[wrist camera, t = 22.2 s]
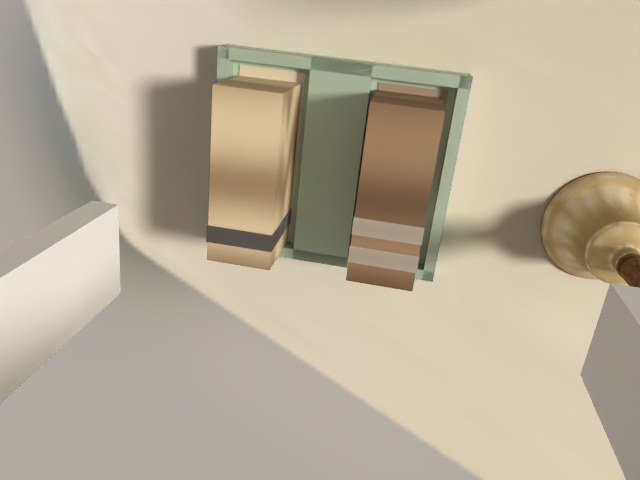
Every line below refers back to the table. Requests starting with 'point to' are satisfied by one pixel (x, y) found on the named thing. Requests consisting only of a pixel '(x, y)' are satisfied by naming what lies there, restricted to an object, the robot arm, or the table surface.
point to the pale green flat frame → (348, 142)
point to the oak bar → (251, 169)
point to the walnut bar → (394, 188)
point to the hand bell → (596, 228)
